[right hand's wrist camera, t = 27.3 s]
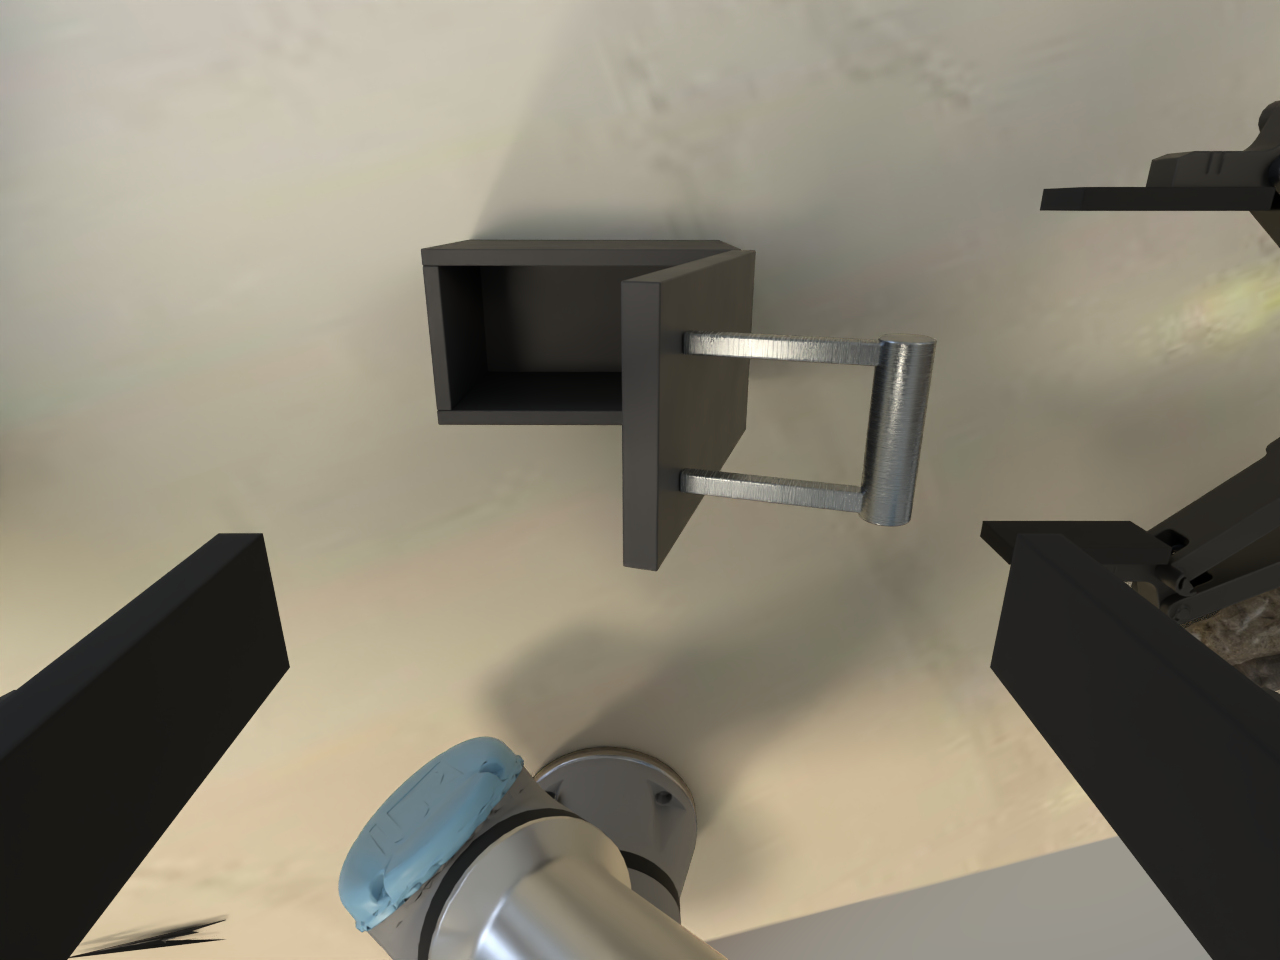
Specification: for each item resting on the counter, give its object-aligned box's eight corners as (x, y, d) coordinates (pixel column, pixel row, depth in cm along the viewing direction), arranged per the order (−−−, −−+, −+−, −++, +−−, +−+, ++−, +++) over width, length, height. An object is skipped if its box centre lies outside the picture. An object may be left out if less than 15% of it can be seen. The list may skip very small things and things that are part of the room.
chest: (479, 380, 49) (437, 424, 39) (468, 239, 46) (420, 248, 36) (714, 381, 49) (733, 425, 39) (719, 240, 46) (741, 249, 36)
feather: (-22, 958, 71) (-44, 968, 69) (236, 915, 67) (221, 924, 65) (-21, 978, 70) (-43, 988, 68) (238, 935, 67) (223, 945, 65)
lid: (622, 566, 24) (905, 609, 21) (620, 280, 21) (954, 291, 18) (723, 428, 39) (897, 443, 36) (731, 249, 36) (922, 253, 33)
